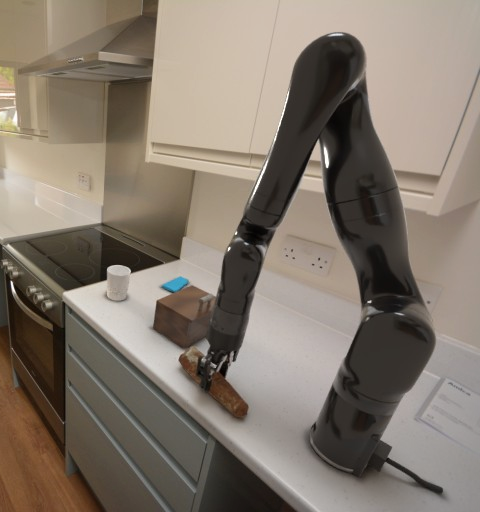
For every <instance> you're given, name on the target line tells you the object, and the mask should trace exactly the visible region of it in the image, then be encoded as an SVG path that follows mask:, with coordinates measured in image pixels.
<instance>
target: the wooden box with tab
mask: <svg viewBox="0 0 480 512" xmlns="http://www.w3.org/2000/svg"><path fill="white" fill-rule="evenodd" d="M215 299H216V295H214V294H213V293H209V292H208V291H205V290H203V289H201V288H200V287H197V286H195V285H194V284H191V285H189V286H186V287H183V288H181V289H180V290H179V291H177V292H172V293H169V294H168V295H165V296H163V297H161V298H159V299H156V302H155V304H156V303H158V304H159V305H161V306H163V307H165V308H166V309H168V310H170V311H172V312H173V313H175V314H177V315H178V316H180V317H182V318H184V319H185V320H187V321H189V322H190V323H193V322H195V321H197V320H199V319H201V318H202V317H204V316H206V315H208V314H210V313H211V311H212V308H213V305H214V303H215Z"/></svg>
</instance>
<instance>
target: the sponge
mask: <svg viewBox="0 0 480 512" xmlns="http://www.w3.org/2000/svg"><path fill="white" fill-rule="evenodd" d="M189 281H190V280H189V279H188V278H186V277H183V276H178V277H176V278H174V279H172V280H170V281H168V282H167V281H166V282H165V283H163V284H162V285H161V288H163V289H165V290H166V291H170V292H172V293H175V292H177V291H179V290H182V289H183V288H184V287H185V286H186V285H187V284H188V283H189Z"/></svg>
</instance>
